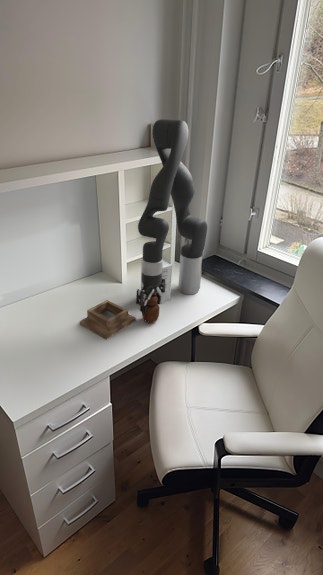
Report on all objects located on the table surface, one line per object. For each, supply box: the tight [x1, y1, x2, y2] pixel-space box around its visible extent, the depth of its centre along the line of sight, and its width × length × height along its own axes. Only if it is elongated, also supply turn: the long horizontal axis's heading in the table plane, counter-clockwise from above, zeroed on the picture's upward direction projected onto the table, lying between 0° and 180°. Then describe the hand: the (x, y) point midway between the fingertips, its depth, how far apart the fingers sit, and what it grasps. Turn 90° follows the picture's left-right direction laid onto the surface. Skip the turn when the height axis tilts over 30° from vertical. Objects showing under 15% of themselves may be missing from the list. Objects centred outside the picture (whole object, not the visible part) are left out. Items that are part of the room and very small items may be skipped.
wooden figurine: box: [141, 294, 161, 324], centre depth 156 cm, size 7×6×15 cm
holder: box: [79, 299, 137, 340], centre depth 156 cm, size 16×14×6 cm
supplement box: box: [140, 258, 173, 305], centre depth 170 cm, size 10×9×17 cm
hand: (150, 308), depth 157 cm, fingers open, 8 cm apart
